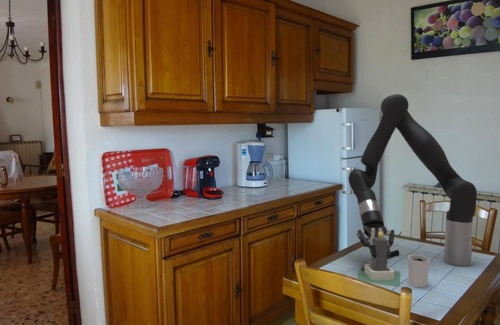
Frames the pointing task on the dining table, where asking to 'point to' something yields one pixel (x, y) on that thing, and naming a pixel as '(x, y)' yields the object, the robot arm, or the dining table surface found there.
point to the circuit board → (392, 283)
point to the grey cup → (418, 270)
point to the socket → (379, 273)
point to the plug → (380, 251)
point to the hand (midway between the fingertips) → (381, 256)
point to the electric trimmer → (394, 254)
